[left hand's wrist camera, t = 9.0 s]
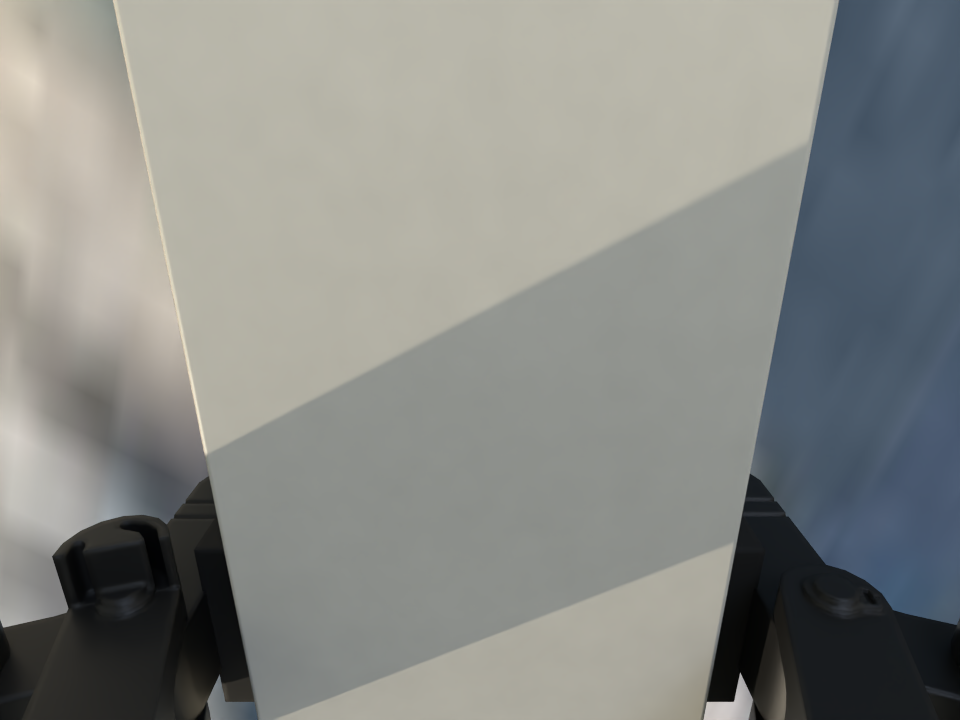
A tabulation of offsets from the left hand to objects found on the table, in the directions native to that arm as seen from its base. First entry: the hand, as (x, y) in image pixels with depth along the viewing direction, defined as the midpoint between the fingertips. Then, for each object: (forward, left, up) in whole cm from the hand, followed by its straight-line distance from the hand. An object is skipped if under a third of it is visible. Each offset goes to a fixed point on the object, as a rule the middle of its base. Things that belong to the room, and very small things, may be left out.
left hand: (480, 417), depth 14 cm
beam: (+33, +7, -1) cm, 34 cm away
